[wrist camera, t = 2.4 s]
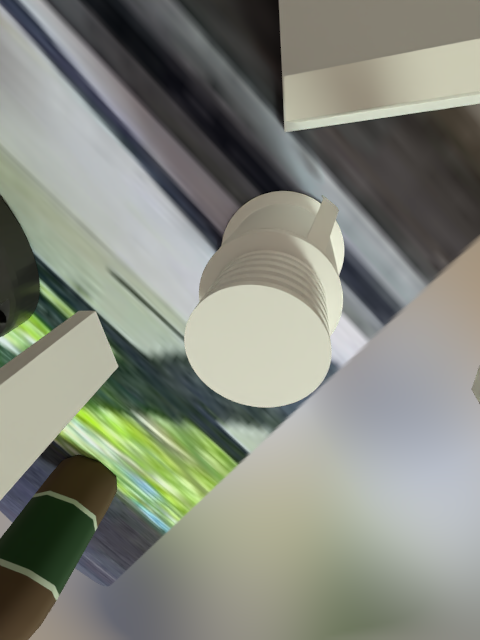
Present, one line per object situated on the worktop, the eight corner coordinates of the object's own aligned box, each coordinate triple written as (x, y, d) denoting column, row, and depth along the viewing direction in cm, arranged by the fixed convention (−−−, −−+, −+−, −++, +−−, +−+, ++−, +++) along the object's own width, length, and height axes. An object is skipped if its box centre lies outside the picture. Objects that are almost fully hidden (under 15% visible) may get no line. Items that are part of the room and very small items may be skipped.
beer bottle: (109, 498, 40) (-94, 854, 21) (56, 469, 39) (-212, 815, 20) (129, 477, 36) (-102, 900, 16) (71, 444, 35) (-252, 854, 15)
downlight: (284, 331, 21) (266, 463, 12) (198, 269, 20) (112, 365, 11) (378, 236, 17) (450, 335, 8) (275, 152, 16) (233, 162, 7)
